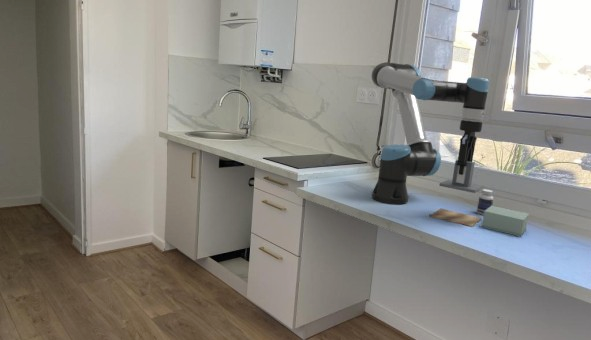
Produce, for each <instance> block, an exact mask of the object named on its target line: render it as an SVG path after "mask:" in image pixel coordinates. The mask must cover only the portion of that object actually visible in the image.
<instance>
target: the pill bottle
mask: <svg viewBox="0 0 591 340" xmlns="http://www.w3.org/2000/svg"><path fill="white" fill-rule="evenodd" d="M493 192H494V190H491V189H485V188H484V189H483V188H482V189H481V194H479V196H478V202H477V207H476V213H477V214H479V215H482V216H484V211H485V210H487V209H488V208H489V207H490V206H494V205H493V203H494V196H493V194H494V193H493Z"/></svg>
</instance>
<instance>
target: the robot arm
mask: <svg viewBox="0 0 591 340" xmlns="http://www.w3.org/2000/svg"><path fill="white" fill-rule="evenodd" d="M371 80H372V82H373V84H374V85H375V86H376V87H378V88H381V89H389V90H390V89H391V91H392V95H393V97H394V98H396V99H397V104H398V109H399V114H400V117H401V121H402V128H403V131H404V135H405V141H406V144H389V145H388V144H387V145H386V146H384V147H382V150H381V155H380V161H379V162H380V163H379V169H378V170H379V172H378V176H377V177H378V178H377V181H376V183H375V186H374V188H373V189H372V192H371V193H372V194H371V198H372V199H373V200H375V201H377V202H380V203H384V204H388V205H389V204H391V205H403V204H407V203H408V201H409V194H408V189H407V178H408V177H427V176H433V175H435V174H436V173H437V172H438V171H439V169H440V167H441V163H442V158H441V157H442V156H441V153H440V151H438V149H436V148H433V144H432V142H431V141H429V140H428V139H427V135H426V131H425V126H424V123H423V122H424V121H423V117H422V113H421V109H420V106H419V100H421V101H437V102H448V103H458V104H459V103H461V104H462V105H463V106H462V109H461V110H462V111H461V116H460V118H461V120H460V125H459V130H460V131H464V133H463V135H462V137H460V140H459V141H460V142H459V149H458V157H457V160H458V162H457V164H456V165H459V167H458V173H457V179H456V182H457V183H462V184H464V180H465V174H466V168H467V166H466V163H467V161H470V162H474V153H475V148H476V142H477V139H478V138H477V136H476V133H481V132H482V128H483V122H482V121H484V116H485V115H486V112H485V109H486V104H487V98H488V92H489V85H490V83H489V82H490V81H489V79H488V78H485V77H484V78H483V77H468V78H467V80H466V82H458V81H445V80H436V79H429V78H425V77H422V74H421V72H420V68H419V67H417V66H415V65H413V64H412V65H411V64H409V63H405V64H404V63H394V62H389V61H388V62H381V63H379V64H377V65H375V66H374V68H373V70H372V72H371Z"/></svg>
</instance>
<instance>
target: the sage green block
mask: <svg viewBox="0 0 591 340" xmlns="http://www.w3.org/2000/svg"><path fill="white" fill-rule="evenodd" d="M528 220H529V213H528V212H522V211H518V210H512V209H508V208H503V207H499V206H495V205H492V206H490V207H489V208H488V209H487V210H485V211H484V215H483V217H482V223H481V226H480V227H481V228H485V229H490V230H494V231H497V232H501V233H505V234H509V235H514V236H517V237H522V236H523V235H524V234H525V232H526V230H527V227H528Z"/></svg>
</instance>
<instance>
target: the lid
mask: <svg viewBox="0 0 591 340" xmlns="http://www.w3.org/2000/svg"><path fill="white" fill-rule="evenodd" d="M457 162H458V159H457V160H455V161H454V169H453V174H452V179H446V180H444V181H441V182H439V187H443V188H448V189H453V190H456V191H457V190H458V191H462V192H463V191H464V192H468V193H471V194H476V193H478V192H479V191H482V190H483V187H484V186H483V185H479V184H474V183H472V181H473V175H474V171H475V170H474V169H475V163H476V162H475V161H472V162H470V161H467V163H466V166H467V168H466V174H465V180H464V184H462V183H457V182H456V179H457V173H458V167H459V165H456V164H457Z"/></svg>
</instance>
